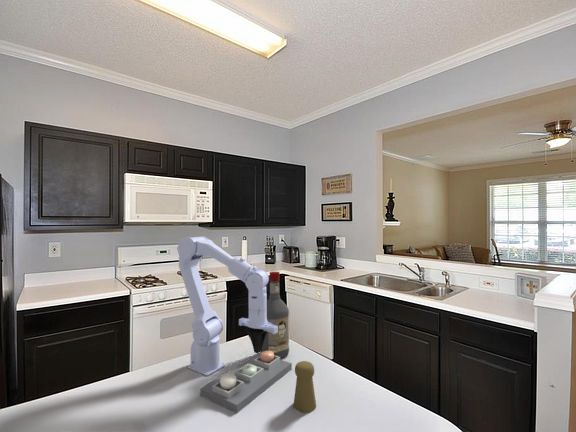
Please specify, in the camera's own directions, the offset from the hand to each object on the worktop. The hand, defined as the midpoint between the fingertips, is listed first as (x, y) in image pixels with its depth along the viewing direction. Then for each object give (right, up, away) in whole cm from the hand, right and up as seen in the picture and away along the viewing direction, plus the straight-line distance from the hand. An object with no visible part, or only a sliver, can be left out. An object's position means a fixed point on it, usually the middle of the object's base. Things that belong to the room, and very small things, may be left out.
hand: (257, 351), depth 93 cm
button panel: (-2, -7, -3) cm, 8 cm away
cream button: (-7, -4, -11) cm, 14 cm away
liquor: (+5, -8, +15) cm, 17 cm away
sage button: (-2, -5, -3) cm, 7 cm away
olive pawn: (+14, -7, -15) cm, 22 cm away
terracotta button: (+3, -4, +4) cm, 6 cm away
